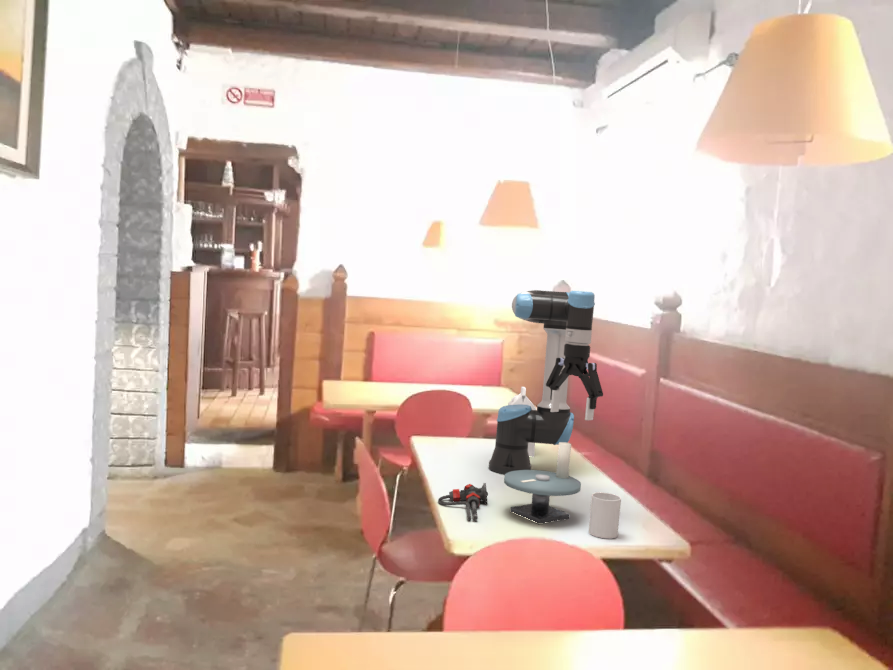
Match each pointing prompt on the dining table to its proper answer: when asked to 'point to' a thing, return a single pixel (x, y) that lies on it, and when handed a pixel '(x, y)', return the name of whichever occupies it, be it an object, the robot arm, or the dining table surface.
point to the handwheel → (546, 477)
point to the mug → (604, 515)
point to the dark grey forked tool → (467, 498)
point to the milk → (524, 400)
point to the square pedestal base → (540, 510)
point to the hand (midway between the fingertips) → (571, 415)
